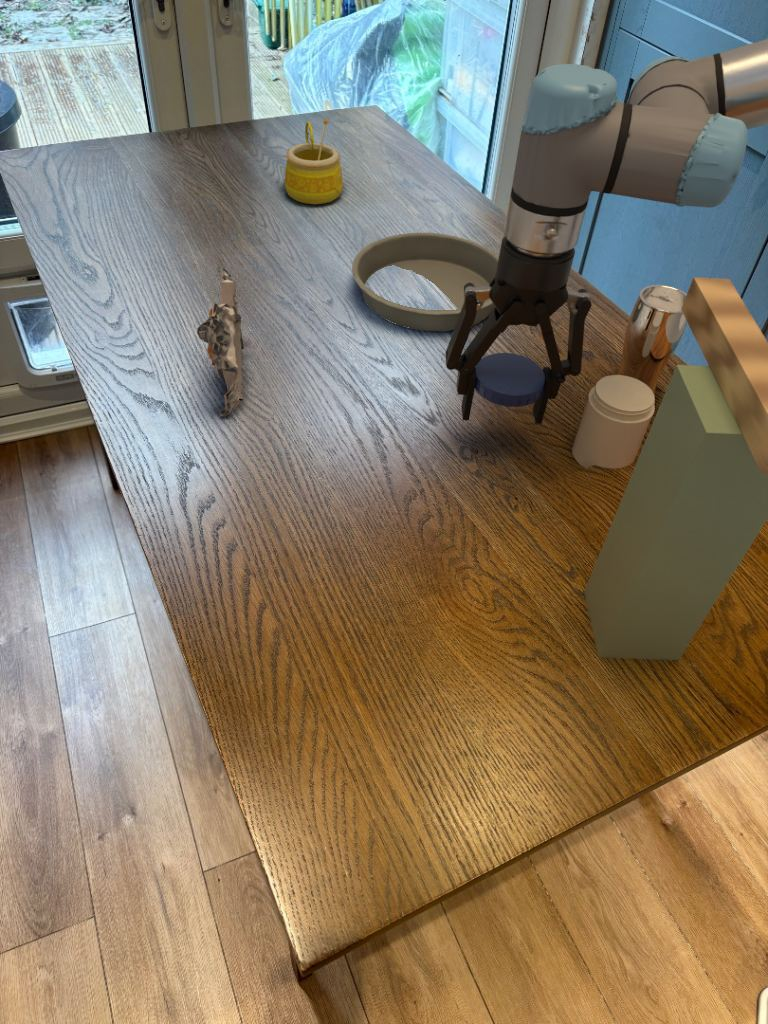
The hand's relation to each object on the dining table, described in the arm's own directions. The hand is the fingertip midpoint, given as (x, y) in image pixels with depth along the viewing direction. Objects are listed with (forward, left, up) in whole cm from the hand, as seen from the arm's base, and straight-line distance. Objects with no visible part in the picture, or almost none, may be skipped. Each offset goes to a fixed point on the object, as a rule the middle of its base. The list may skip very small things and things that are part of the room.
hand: (501, 414), depth 93 cm
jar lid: (0, 0, +6) cm, 6 cm away
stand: (-30, +5, -5) cm, 31 cm away
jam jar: (-8, -11, -5) cm, 14 cm away
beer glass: (0, -23, -5) cm, 24 cm away
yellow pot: (+74, -11, -5) cm, 75 cm away
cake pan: (+34, -11, -5) cm, 36 cm away
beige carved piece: (+26, +26, -5) cm, 37 cm away
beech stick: (-28, +4, +25) cm, 38 cm away
